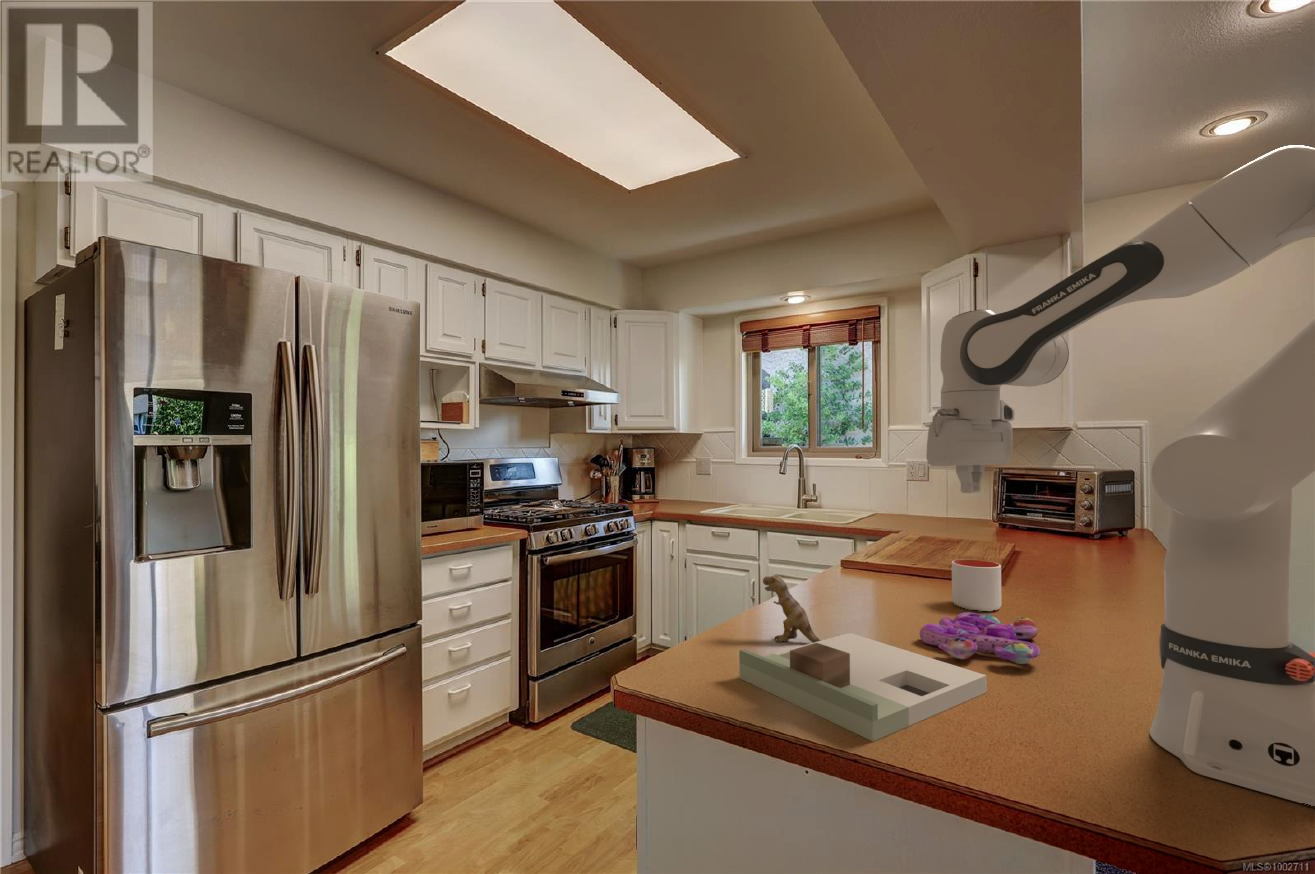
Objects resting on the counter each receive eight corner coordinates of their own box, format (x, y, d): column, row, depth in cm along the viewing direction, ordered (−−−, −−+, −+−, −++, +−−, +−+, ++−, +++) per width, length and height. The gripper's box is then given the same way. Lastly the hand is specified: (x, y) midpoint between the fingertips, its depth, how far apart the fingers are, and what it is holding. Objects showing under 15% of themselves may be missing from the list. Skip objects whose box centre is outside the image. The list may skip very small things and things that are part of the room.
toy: (743, 604, 122) (772, 566, 120) (816, 661, 118) (847, 622, 116) (737, 616, 115) (768, 575, 113) (814, 676, 111) (848, 636, 109)
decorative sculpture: (902, 657, 108) (1032, 679, 95) (901, 630, 108) (1029, 648, 95) (951, 625, 129) (1063, 639, 116) (950, 602, 130) (1061, 614, 116)
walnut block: (849, 684, 88) (849, 653, 88) (823, 694, 84) (822, 662, 84) (816, 672, 93) (816, 642, 93) (790, 681, 89) (789, 650, 89)
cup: (1002, 605, 140) (1001, 561, 140) (1000, 615, 132) (1000, 569, 132) (954, 599, 145) (954, 557, 146) (949, 609, 137) (949, 564, 137)
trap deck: (986, 692, 91) (986, 662, 91) (872, 741, 76) (872, 705, 76) (850, 646, 112) (849, 622, 112) (739, 678, 97) (739, 650, 97)
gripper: (953, 406, 93) (954, 497, 93) (1019, 410, 104) (1020, 491, 104) (915, 409, 98) (916, 494, 98) (983, 412, 110) (983, 489, 109)
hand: (970, 492), depth 101 cm, fingers closed
